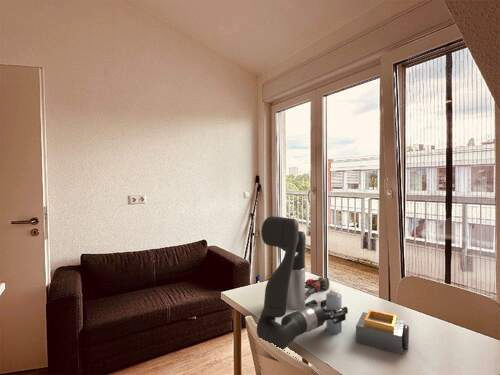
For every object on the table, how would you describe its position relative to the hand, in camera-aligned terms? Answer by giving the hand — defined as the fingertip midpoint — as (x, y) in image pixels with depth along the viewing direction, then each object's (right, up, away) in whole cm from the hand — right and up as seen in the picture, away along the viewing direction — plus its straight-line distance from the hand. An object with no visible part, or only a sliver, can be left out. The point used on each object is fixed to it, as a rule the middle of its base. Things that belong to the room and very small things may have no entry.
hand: (336, 305), depth 111 cm
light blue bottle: (-1, -9, -1) cm, 9 cm away
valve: (-2, -8, +38) cm, 39 cm away
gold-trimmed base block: (+13, -9, -8) cm, 18 cm away
